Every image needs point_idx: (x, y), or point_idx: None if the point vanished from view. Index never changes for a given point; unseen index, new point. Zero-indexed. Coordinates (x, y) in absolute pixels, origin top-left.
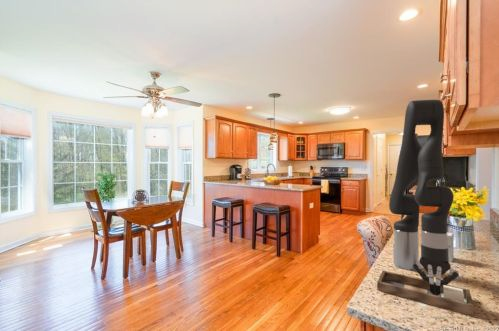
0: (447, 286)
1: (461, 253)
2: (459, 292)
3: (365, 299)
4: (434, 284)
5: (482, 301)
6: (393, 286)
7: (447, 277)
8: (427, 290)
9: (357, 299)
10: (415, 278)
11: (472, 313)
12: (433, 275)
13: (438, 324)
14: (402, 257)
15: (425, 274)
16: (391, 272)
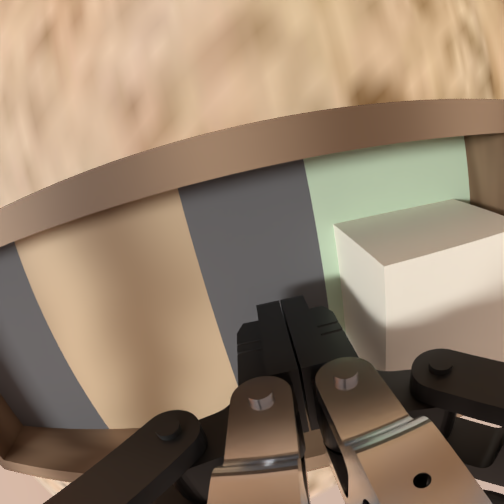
0: (424, 277)
1: None
2: (495, 330)
3: (58, 483)
4: (302, 418)
5: (497, 55)
6: (67, 479)
7: (497, 461)
8: (183, 205)
9: (50, 490)
10: (31, 226)
11: None
12: (299, 458)
13: (326, 483)
14: None
15: (172, 480)
16: None
